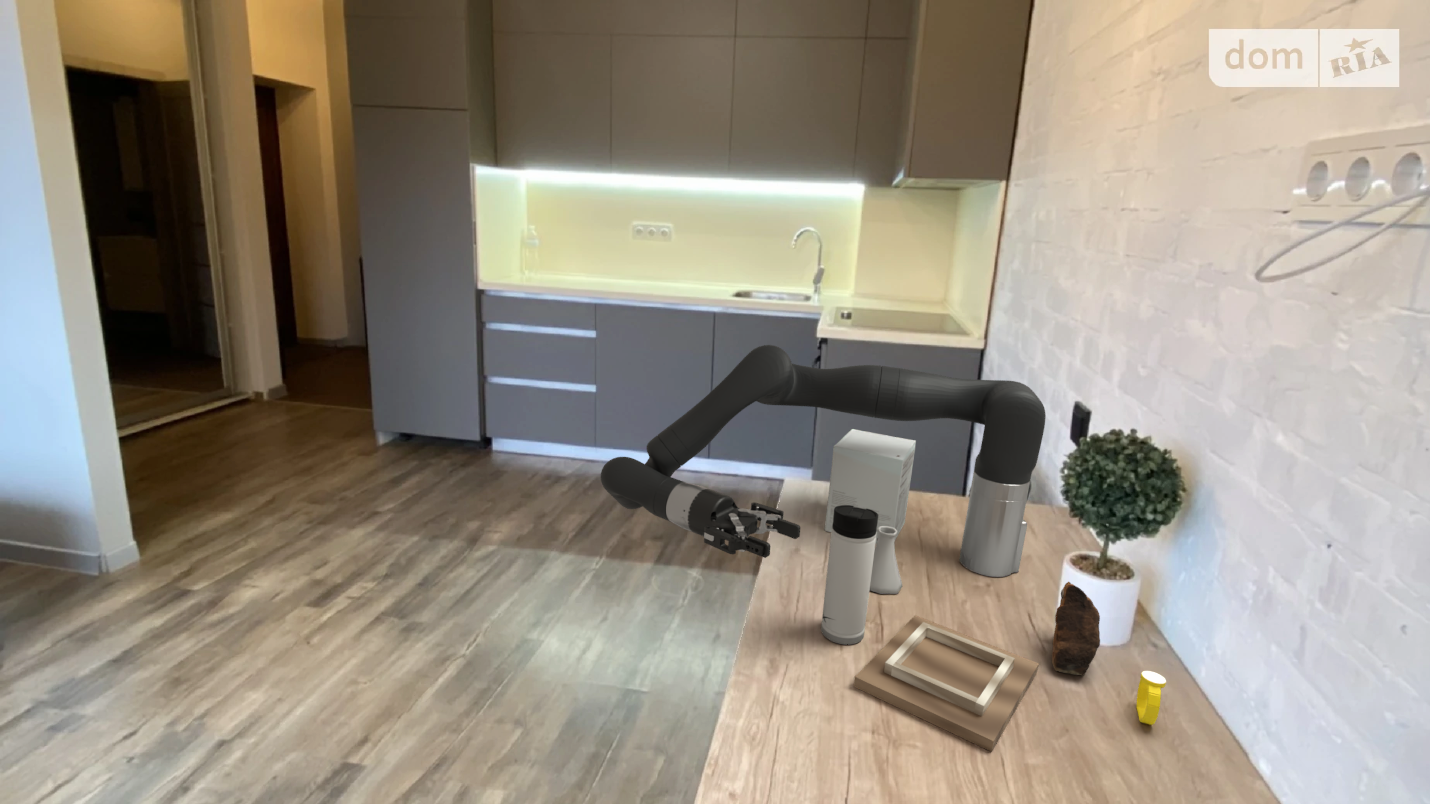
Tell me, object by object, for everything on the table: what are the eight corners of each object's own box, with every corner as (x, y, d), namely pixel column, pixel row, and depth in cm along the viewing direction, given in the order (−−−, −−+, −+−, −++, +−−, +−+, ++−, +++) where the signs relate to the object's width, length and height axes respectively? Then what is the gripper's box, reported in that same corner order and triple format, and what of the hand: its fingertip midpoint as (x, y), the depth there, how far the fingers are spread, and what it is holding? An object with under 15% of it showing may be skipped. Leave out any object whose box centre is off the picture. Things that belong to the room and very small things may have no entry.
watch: (1128, 702, 99) (1137, 661, 97) (1152, 708, 98) (1161, 667, 96) (1135, 727, 93) (1145, 685, 92) (1160, 734, 92) (1170, 691, 91)
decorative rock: (1051, 630, 114) (1064, 567, 111) (1094, 643, 111) (1109, 578, 108) (1044, 671, 103) (1058, 602, 101) (1092, 686, 101) (1108, 616, 98)
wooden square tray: (913, 623, 113) (916, 606, 112) (1036, 672, 103) (1040, 654, 102) (853, 686, 98) (856, 666, 97) (991, 751, 87) (995, 730, 87)
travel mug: (815, 639, 108) (828, 512, 102) (826, 617, 113) (839, 495, 108) (858, 651, 105) (874, 521, 100) (867, 628, 111) (883, 504, 106)
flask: (903, 598, 120) (911, 542, 118) (857, 591, 122) (864, 536, 119) (901, 577, 127) (909, 523, 124) (858, 571, 128) (865, 517, 126)
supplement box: (906, 522, 149) (918, 440, 144) (891, 548, 138) (904, 459, 133) (842, 507, 154) (851, 427, 150) (823, 531, 143) (832, 445, 138)
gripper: (673, 501, 115) (760, 534, 106) (727, 477, 126) (810, 505, 117) (671, 545, 117) (756, 581, 108) (724, 518, 128) (806, 548, 119)
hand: (784, 541), depth 113 cm, fingers open, 8 cm apart
